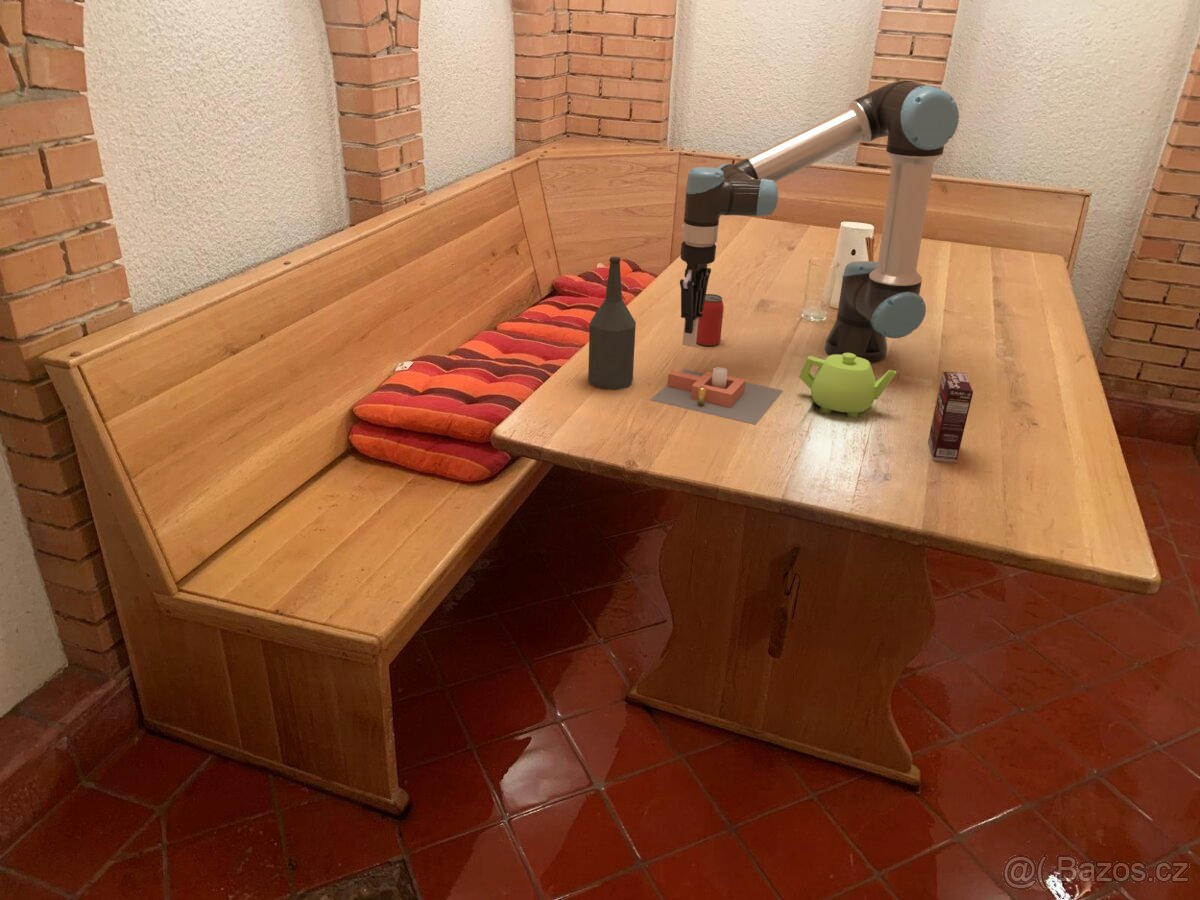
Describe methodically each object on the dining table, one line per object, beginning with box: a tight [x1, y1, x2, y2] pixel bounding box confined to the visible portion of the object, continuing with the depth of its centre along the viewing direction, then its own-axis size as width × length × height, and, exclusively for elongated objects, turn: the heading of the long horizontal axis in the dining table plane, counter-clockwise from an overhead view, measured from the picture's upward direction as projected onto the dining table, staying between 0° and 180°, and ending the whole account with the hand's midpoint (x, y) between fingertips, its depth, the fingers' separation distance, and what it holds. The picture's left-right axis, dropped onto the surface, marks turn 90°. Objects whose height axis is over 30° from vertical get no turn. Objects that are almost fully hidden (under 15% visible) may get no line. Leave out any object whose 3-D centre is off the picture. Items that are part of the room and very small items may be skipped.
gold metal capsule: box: [697, 386, 706, 406], centre depth 195 cm, size 2×2×4 cm
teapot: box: [798, 353, 897, 419], centre depth 198 cm, size 20×13×13 cm
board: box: [649, 366, 784, 426], centre depth 200 cm, size 24×20×8 cm
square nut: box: [666, 370, 747, 407], centre depth 202 cm, size 16×9×3 cm, turn 63°
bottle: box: [587, 256, 637, 391], centre depth 200 cm, size 10×10×30 cm
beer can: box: [696, 293, 725, 347], centre depth 231 cm, size 7×7×12 cm
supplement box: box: [927, 371, 974, 464], centre depth 179 cm, size 9×5×16 cm, turn 169°
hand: (689, 344), depth 207 cm, fingers closed
